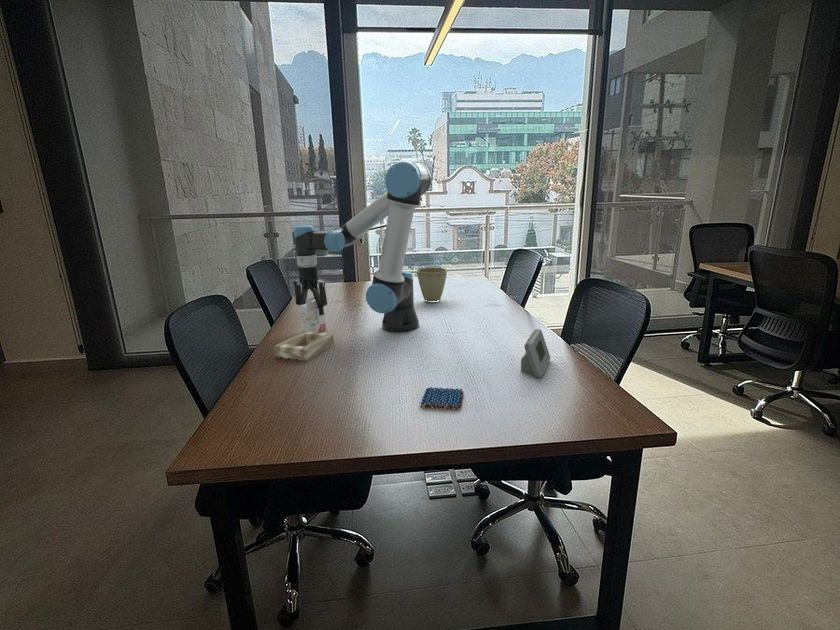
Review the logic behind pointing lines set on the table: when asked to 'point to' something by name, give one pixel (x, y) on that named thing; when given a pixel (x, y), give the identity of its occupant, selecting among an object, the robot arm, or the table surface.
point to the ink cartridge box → (311, 317)
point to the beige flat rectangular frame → (296, 349)
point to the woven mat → (442, 398)
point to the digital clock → (535, 355)
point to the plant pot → (432, 282)
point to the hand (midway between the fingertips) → (313, 322)
